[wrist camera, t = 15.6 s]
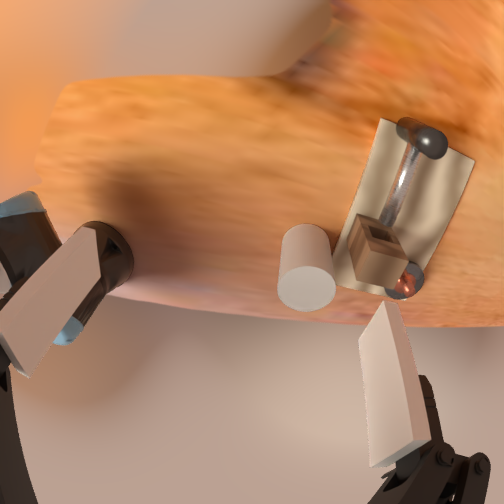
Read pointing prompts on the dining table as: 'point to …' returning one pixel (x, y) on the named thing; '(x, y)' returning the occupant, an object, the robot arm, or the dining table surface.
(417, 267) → the handwheel
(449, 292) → the dining table surface
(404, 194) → the t-handle
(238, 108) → the dining table surface
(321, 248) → the beige solid cylinder
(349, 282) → the block
